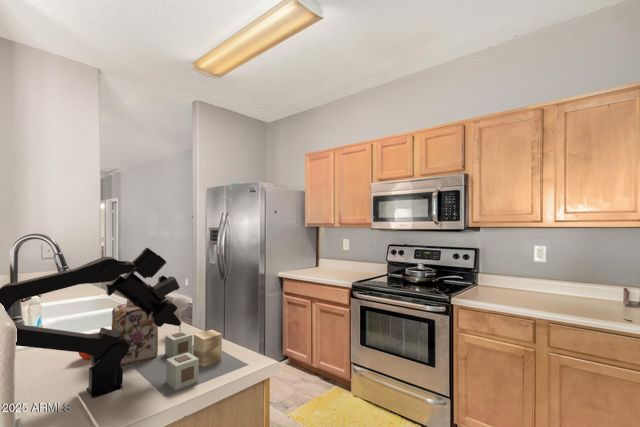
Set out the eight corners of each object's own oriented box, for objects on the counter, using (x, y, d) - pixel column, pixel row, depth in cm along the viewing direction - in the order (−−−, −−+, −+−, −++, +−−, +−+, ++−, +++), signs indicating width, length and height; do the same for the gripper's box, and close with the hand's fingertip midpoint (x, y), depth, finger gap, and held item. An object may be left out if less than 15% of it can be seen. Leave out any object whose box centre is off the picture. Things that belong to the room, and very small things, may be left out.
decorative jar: (152, 346, 110) (152, 293, 110) (158, 356, 100) (158, 298, 101) (110, 355, 103) (111, 298, 103) (113, 367, 93) (114, 304, 94)
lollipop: (167, 336, 119) (168, 296, 119) (180, 331, 124) (181, 292, 124) (178, 339, 116) (179, 298, 116) (191, 334, 121) (192, 294, 122)
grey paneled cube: (176, 390, 81) (176, 365, 81) (165, 381, 85) (166, 358, 85) (198, 381, 86) (199, 358, 86) (187, 373, 90) (188, 351, 90)
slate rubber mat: (166, 399, 78) (166, 397, 78) (129, 365, 95) (129, 363, 95) (248, 366, 96) (248, 364, 96) (205, 343, 113) (205, 341, 113)
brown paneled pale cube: (173, 360, 98) (173, 339, 98) (165, 354, 103) (165, 334, 103) (192, 354, 103) (192, 334, 103) (183, 348, 107) (183, 330, 107)
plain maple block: (203, 366, 94) (203, 339, 94) (193, 360, 98) (193, 334, 98) (221, 360, 98) (221, 334, 99) (211, 354, 103) (211, 329, 103)
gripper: (169, 273, 83) (211, 308, 90) (153, 264, 98) (190, 295, 104) (134, 308, 78) (181, 343, 85) (123, 294, 93) (164, 324, 99)
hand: (180, 324), depth 93 cm, fingers closed
